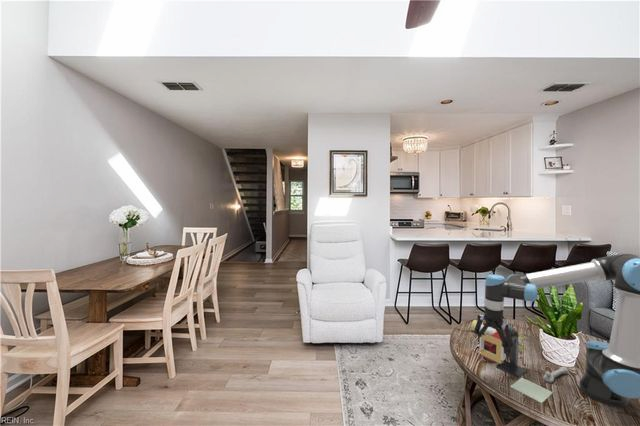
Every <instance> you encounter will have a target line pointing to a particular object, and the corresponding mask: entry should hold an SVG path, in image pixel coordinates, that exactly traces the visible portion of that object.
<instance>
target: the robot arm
mask: <svg viewBox="0 0 640 426" xmlns="http://www.w3.org/2000/svg"><path fill="white" fill-rule="evenodd" d="M595 280H601V281H614V285H613V288H614V289H615V290H616V291H617V292H618V294H617V300H616V306H615V311H614V315H613V316H614V317H613V322H612V327H611V334H610V339H609V342H606V341H605V342H604V341H600V340H589V341H587V343H586V347H585V348H586V353H585V357H586V358H585V372H584V373H583V375H582V377H581V378H580V380H579V382H578V384H579V386H578V387H579V390H581V392H582V393H584V394H585V395H586V396H587V397H590V398H592V399H593V400H595V401H598V402H599V403H603V404H605V405H607V406H608V405H609V406H612V407H617V408H626V407H627V406H629V405H628V404H629V399H637V398H640V256H639V255H635V254H630V253H620V254H618V253H617V254H613V255H607V256H603V257H598V258H597V257H596V258H593V259H591V261H590V262H584V263H579V264H574V265H567V266H561V267H558V268H552V269H551V268H550V269H545V270H542V271H535V272H530V273H525V274H515V273H513V274H509V276H508V277H507V278H506V279H505V277H504V276H503V275H499V274H492V273H491V274H487V275H486V277H485V285H484V286H485V287H484V288H485V289H484V291H485V292H484V293H485V294H484V310H483V311H484V312H483V313H484V315H483V314H482V313H480V314H478V315H477V319H476V320H477V324H476V327H475V330H474V331H473V333H474V334H475V335H477V342H478V343H479V348H478V349H479V351H481V350H483V349H484V339H481V338H482V334H484V332H485V331H486V330H487V328H488V327H490V328H493V329H496V331H497V332H498V334H499V336H500V339H501V341H502V343H503V346H501V360H502V361H503V360H506V358H507V356H506V355H507V354H508V347H509V348H511V347H512V346H513V341H512V336H511V331H510V327H512V325H511V324H509V323H506V322H504V305H505V301H504V300H505V298H507V299H514V300H519V301H525V302H536V301H537V299H538V289H544V288H551V287H557V286H563V285H564V286H565V285H570V284H576V283H582V282H583V283H584V282H589V281H595ZM483 320H484V322H485V323H484V324H482V323H483ZM481 324H482V325H484V326H483V328H482V329H481V330H480V327H481ZM502 326H503V327H502ZM503 328H504V329H503ZM479 330H480V331H479ZM503 330H505V334H506V337H505V335H504V332H503Z"/></svg>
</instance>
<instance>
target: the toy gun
mask: <svg viewBox="0 0 640 426" xmlns="http://www.w3.org/2000/svg"><path fill="white" fill-rule="evenodd" d="M510 331H511V336H512V337H513V336H514V337H516V338H518V337H519V335H518V334H519V333H518V331H517V330H515V329H514V327H512V326H511V327H510ZM503 332H504V335H505V337H506V334H505V329H503ZM490 336H492V337H495V338H497V339H500V336H499V334H498V332H496V333H494V334H492V335H490ZM500 340H501V339H500ZM484 349H485V350H487V351H489V352H491V353H494V354H496V344H493V343H491V342H489V341H486V340H484ZM510 350H511V348H509V347H508V353H507V354H508V355H510ZM482 358H483V359H485V360H487V361H488V362H490V363H491V364H493V363H496V361H494V360H491V359H489V358H487V357H485V356H483V355H482Z"/></svg>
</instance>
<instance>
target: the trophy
mask: <svg viewBox="0 0 640 426" xmlns="http://www.w3.org/2000/svg"><path fill="white" fill-rule="evenodd" d="M477 320H478V319H473V321H472V322H471V326H470V327H471V331H472V332H474V330H475V327H476V324H477ZM483 326H484V324H481V327H480V330H481V329H482V328H483ZM480 330H479V332H480ZM496 332H497V331H496V329H494V328H493V327H488V328H487V330H486V331H485V332H484V333H485V334H487V335H490V336H491V335H492V334H494V333H496ZM518 335H519V337H518V338H519V339H518V351H521V352H523V353H524V350H525V351H527V348H526V347H525V345H523V344H522V341H523V340H525V339H526V338H527V336H526V335H524V334H520V333H518Z"/></svg>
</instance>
